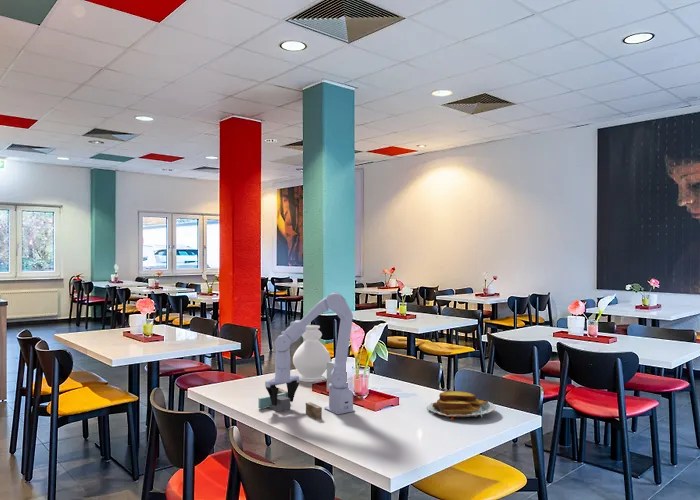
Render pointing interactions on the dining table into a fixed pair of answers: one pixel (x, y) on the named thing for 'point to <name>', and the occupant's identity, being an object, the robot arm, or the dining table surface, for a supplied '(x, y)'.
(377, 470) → the dining table surface
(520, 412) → the dining table surface
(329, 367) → the small box
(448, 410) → the food on plate
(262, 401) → the door
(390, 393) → the dining table surface
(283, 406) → the door stop
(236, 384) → the dining table surface
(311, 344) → the decorative vase
